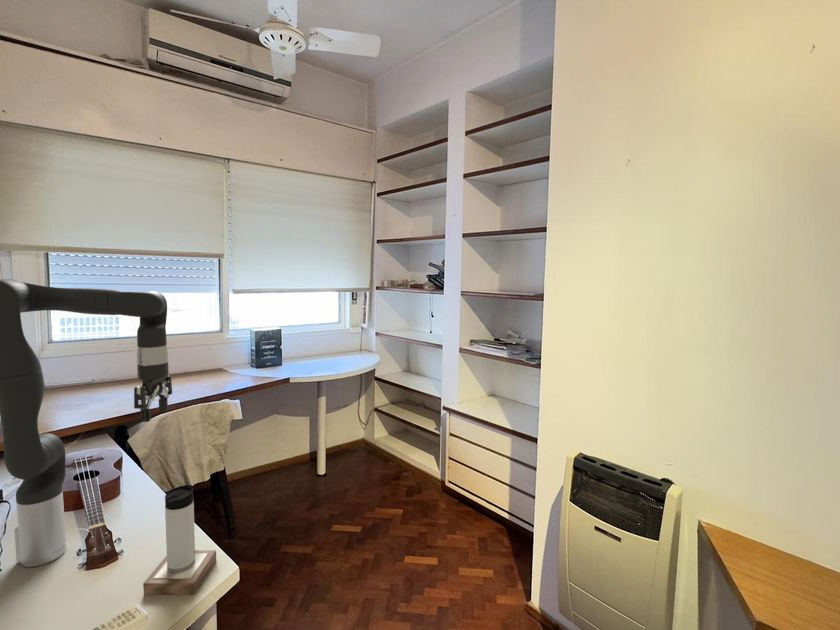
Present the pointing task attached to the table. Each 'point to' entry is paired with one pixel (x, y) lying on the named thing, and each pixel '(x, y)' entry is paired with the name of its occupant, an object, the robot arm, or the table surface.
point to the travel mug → (180, 528)
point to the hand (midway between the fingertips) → (154, 416)
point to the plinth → (180, 576)
